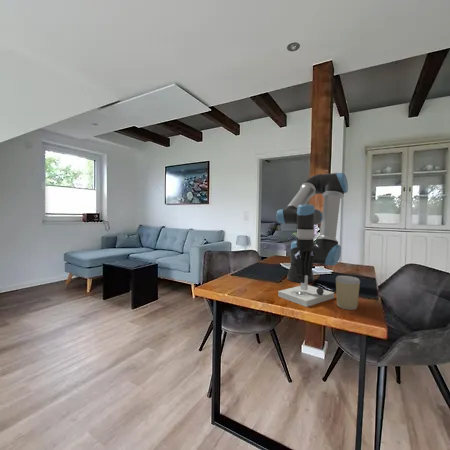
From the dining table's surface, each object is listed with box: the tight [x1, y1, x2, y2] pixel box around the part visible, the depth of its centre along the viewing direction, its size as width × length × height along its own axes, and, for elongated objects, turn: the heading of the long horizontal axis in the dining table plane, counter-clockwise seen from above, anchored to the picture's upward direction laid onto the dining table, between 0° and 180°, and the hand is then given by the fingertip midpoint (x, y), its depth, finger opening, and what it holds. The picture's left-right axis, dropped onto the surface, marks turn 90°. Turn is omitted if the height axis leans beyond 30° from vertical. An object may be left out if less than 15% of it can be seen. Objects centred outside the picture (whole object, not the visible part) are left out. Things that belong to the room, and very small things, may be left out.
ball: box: [317, 287, 324, 295], centre depth 115 cm, size 3×3×3 cm
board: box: [277, 284, 335, 308], centre depth 119 cm, size 20×16×2 cm
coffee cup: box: [335, 275, 361, 311], centre depth 107 cm, size 9×9×12 cm
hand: (304, 289), depth 118 cm, fingers closed
